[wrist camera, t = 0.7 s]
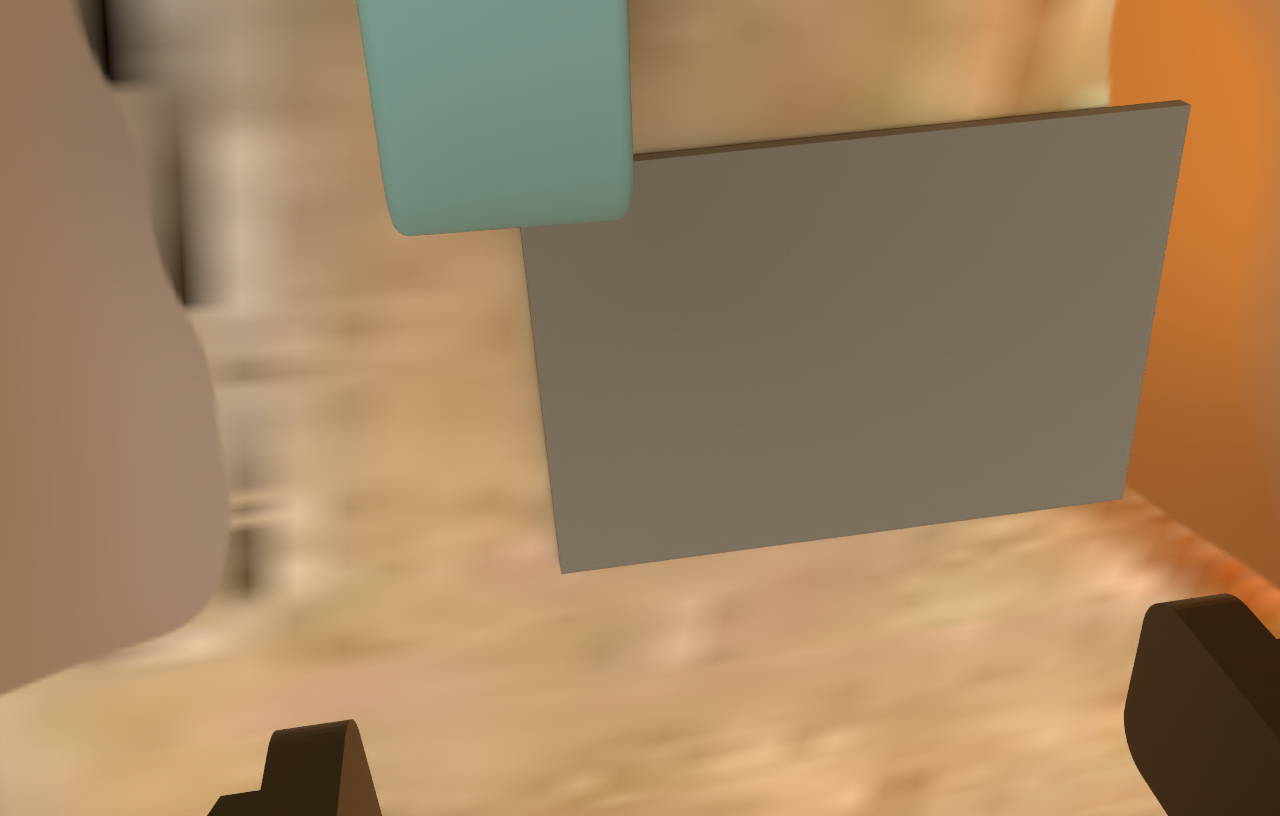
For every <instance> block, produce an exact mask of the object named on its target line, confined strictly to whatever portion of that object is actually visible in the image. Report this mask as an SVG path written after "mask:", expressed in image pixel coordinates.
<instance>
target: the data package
mask: <svg viewBox="0 0 1280 816" xmlns="http://www.w3.org/2000/svg"><path fill="white" fill-rule="evenodd" d="M357 7H358V13H359V20H360V27H361V34H362V41H363V48H364V55H365V62H366V68H367V75H368V82H369V89H370V96H371V103H372V110H373V117H374V123H375V130H376V137H377V144H378V151H379V158H380V165H381V171H382V178H383V184H384V190H385V195H386V200H387V205H388V209H389V213H390V217H391V220H392V222H393V225H394V227H395V228H396V229H397V231H398V232H400V233H401V234H403V235H406V236H417V235H430V234H443V233H456V232H468V231H481V230H494V229H507V228H520V227H533V226H546V225H559V224H572V223H585V222H598V221H611V220H619V219H621V218H623V217H624V216H625V215H626V214H627V213H628V211H629V209H630V206H631V201H632V192H633V140H632V112H631V84H630V56H629V28H628V0H357Z"/></svg>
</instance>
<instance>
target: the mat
mask: <svg viewBox="0 0 1280 816" xmlns="http://www.w3.org/2000/svg"><path fill="white" fill-rule="evenodd" d="M1190 107H1191V105H1190V104H1187V103H1185V102H1183V101H1181V100H1175V101H1165V102H1156V103H1145V104H1135V105H1125V106H1115V107H1105V108H1095V109H1085V110H1075V111H1066V112H1056V113H1046V114H1036V115H1026V116H1016V117H1006V118H996V119H986V120H977V121H967V122H957V123H947V124H937V125H927V126H917V127H907V128H897V129H887V130H878V131H868V132H858V133H848V134H838V135H828V136H818V137H808V138H798V139H789V140H779V141H769V142H759V143H749V144H739V145H729V146H719V147H709V148H699V149H690V150H680V151H670V152H660V153H650V154H640V155H633V192H632V201H631V206H630V209H629V211H628V213H627V214H626V215H625V216H624V217H623V218H621V219H619V220H611V221H598V222H585V223H572V224H559V225H546V226H533V227H520V229H521V237H522V246H523V254H524V262H525V271H526V279H527V288H528V296H529V305H530V313H531V322H532V330H533V339H534V347H535V356H536V364H537V372H538V381H539V389H540V398H541V406H542V415H543V423H544V432H545V440H546V449H547V457H548V466H549V474H550V482H551V491H552V499H553V508H554V516H555V525H556V533H557V542H558V550H559V559H560V567H561V574H566V573H574V572H581V571H589V570H596V569H604V568H611V567H619V566H626V565H634V564H641V563H649V562H656V561H664V560H671V559H679V558H686V557H694V556H701V555H709V554H716V553H724V552H731V551H739V550H746V549H754V548H761V547H768V546H776V545H783V544H791V543H798V542H806V541H813V540H821V539H828V538H836V537H843V536H851V535H858V534H866V533H873V532H881V531H888V530H896V529H903V528H911V527H918V526H926V525H933V524H941V523H948V522H956V521H963V520H971V519H978V518H985V517H993V516H1000V515H1008V514H1015V513H1023V512H1030V511H1038V510H1045V509H1053V508H1060V507H1068V506H1075V505H1083V504H1090V503H1098V502H1105V501H1113V500H1120V499H1122V497H1123V491H1124V486H1125V480H1126V474H1127V469H1128V463H1129V456H1130V450H1131V445H1132V440H1133V434H1134V428H1135V423H1136V417H1137V411H1138V405H1139V400H1140V393H1141V388H1142V382H1143V377H1144V371H1145V365H1146V360H1147V354H1148V347H1149V342H1150V336H1151V331H1152V325H1153V319H1154V314H1155V308H1156V302H1157V296H1158V291H1159V285H1160V279H1161V273H1162V267H1163V262H1164V256H1165V250H1166V245H1167V239H1168V233H1169V227H1170V222H1171V216H1172V210H1173V205H1174V199H1175V193H1176V187H1177V182H1178V175H1179V170H1180V164H1181V158H1182V153H1183V146H1184V141H1185V136H1186V130H1187V124H1188V119H1189V112H1190Z"/></svg>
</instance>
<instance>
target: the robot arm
mask: <svg viewBox="0 0 1280 816" xmlns="http://www.w3.org/2000/svg"><path fill="white" fill-rule="evenodd" d="M1124 727H1125V734H1126V738H1127V743H1128V746H1129V749H1130V752H1131V755H1132V758H1133V760H1134V762H1135V764H1136V766H1137V768H1138V770H1139V772H1140V773H1141V775H1142V777H1143V778H1144V780H1145V781H1146V783H1147V784H1148V786H1149V787H1150V789H1151V790H1152V792H1153V793H1154V795H1155V796H1156V798H1157V800H1158V801H1159V803H1160V804H1161V806H1162V807H1163V809H1164V810H1165V812H1166V813H1167V815H1168V816H1280V639H1276V638H1275V637H1274V636H1273V635H1272V634H1271V633H1270V631H1269V630H1268V629H1267V628H1266V627H1265V626H1264V625H1263V624H1262V623H1261V621H1260V620H1259V619H1258V618H1257V617H1256V616H1255V615H1254V614H1253V613H1252V611H1251V610H1250V609H1249V608H1248V607H1247V606H1246V605H1245V604H1244V603H1243V602H1242V601H1241V600H1240V599H1238V598H1237V597H1235V596H1233V595H1230V594H1218V595H1211V596H1204V597H1198V598H1191V599H1184V600H1177V601H1171V602H1164V603H1157V604H1154V605H1152V606H1151V607H1150V608H1149V609H1148V610H1147V612H1146V614H1145V617H1144V620H1143V625H1142V630H1141V634H1140V639H1139V643H1138V648H1137V653H1136V657H1135V662H1134V667H1133V671H1132V676H1131V680H1130V685H1129V690H1128V694H1127V699H1126V704H1125V709H1124ZM207 816H382V814H381V810H380V807H379V803H378V799H377V796H376V792H375V788H374V784H373V781H372V777H371V773H370V770H369V766H368V762H367V759H366V755H365V751H364V747H363V744H362V740H361V736H360V733H359V730H358V727H357V724H356V723H355V721H354V720H353V719H351V720H344V721H337V722H331V723H324V724H317V725H310V726H303V727H297V728H290V729H283V730H276V731H275V732H274V733H273V735H272V736H271V739H270V743H269V747H268V752H267V758H266V763H265V768H264V774H263V779H262V785H261V790H258V791H251V792H245V793H238V794H232V795H225V796H220V798H219V799H218V800H217V802H216V803H215V805H214V806H213V808H212V809H211V811H210V812H209V814H208V815H207Z"/></svg>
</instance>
